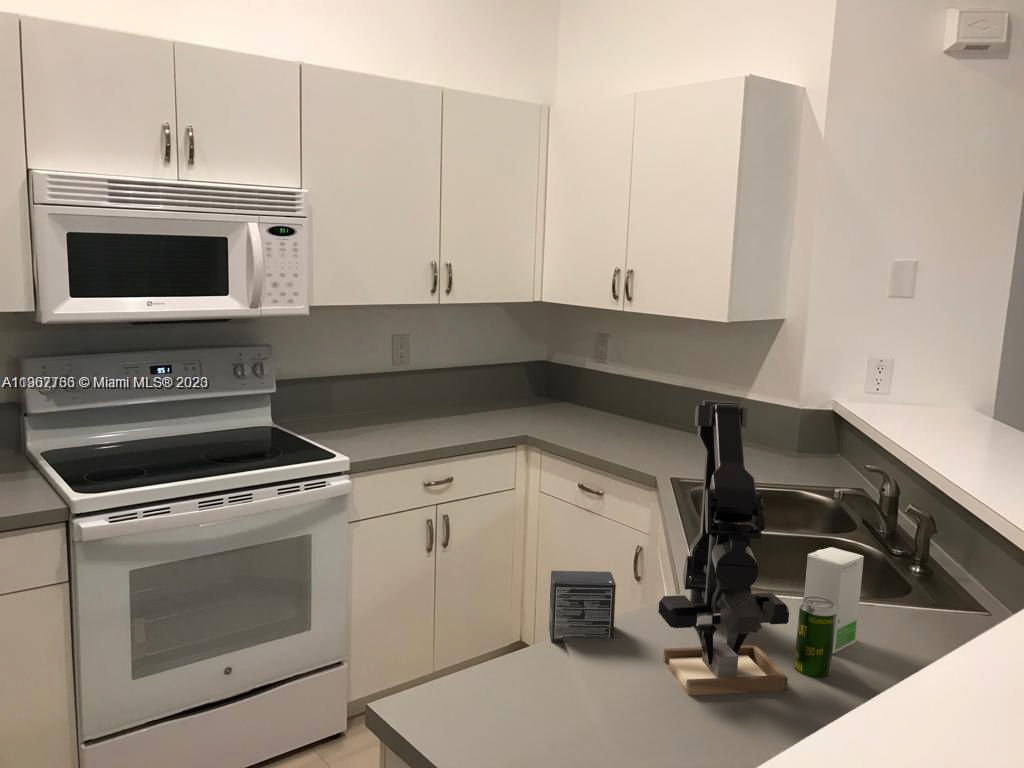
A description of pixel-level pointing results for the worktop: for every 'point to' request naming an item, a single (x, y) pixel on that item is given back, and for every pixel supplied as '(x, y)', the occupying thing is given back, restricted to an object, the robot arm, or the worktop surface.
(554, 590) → the small box
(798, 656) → the beer can
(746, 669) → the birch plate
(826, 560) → the skincare box
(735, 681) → the walnut tray
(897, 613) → the worktop surface
